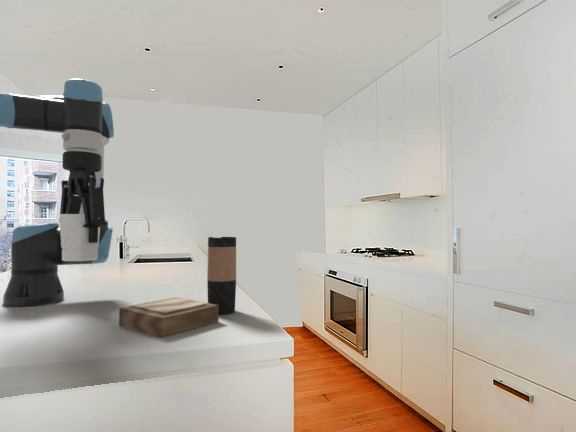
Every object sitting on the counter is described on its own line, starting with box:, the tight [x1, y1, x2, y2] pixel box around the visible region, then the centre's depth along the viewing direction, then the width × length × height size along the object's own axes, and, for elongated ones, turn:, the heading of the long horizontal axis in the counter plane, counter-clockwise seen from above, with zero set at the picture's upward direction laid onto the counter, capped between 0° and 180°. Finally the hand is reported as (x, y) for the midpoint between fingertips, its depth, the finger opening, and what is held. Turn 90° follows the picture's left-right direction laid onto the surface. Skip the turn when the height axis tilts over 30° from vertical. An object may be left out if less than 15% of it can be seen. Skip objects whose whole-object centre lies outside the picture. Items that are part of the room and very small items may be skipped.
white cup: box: [59, 213, 100, 262], centre depth 84 cm, size 8×8×10 cm
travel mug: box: [206, 236, 237, 316], centre depth 104 cm, size 8×8×20 cm
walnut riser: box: [118, 297, 220, 338], centre depth 91 cm, size 16×16×4 cm
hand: (80, 256), depth 84 cm, fingers closed on white cup, 7 cm apart
